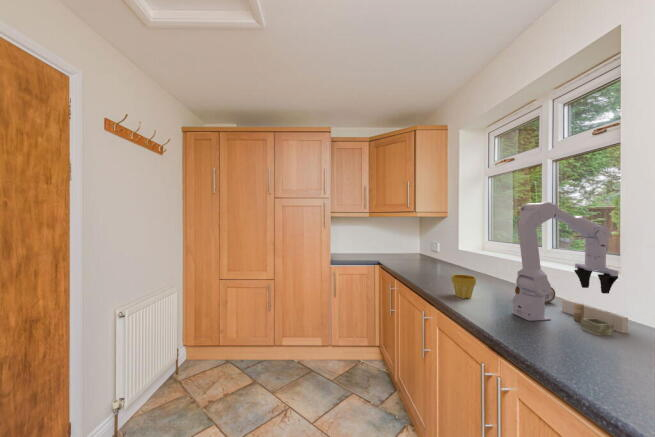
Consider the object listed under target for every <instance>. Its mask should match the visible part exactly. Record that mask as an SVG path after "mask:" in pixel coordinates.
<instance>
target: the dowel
mask: <svg viewBox="0 0 655 437" xmlns="http://www.w3.org/2000/svg"><path fill="white" fill-rule="evenodd" d="M582 304H583V303H582ZM582 304H574V315H573V321H575V322H577V323H581V319H583V318H584V305H582Z"/></svg>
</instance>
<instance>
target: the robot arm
mask: <svg viewBox="0 0 655 437" xmlns="http://www.w3.org/2000/svg"><path fill="white" fill-rule="evenodd" d="M518 212H519V219H518V221H517V230H518V240H519V249H520V256H521V265H522V268H521V269H520V270H518V271H517V277H516V280H515V284H516V286H518V287H519V288H520V291H521V293H520V294H516V293H515V294H514V296H513V301H512V302H513V309H512V311H511V314H513V315H516V316H518V317H519V318H522V319H524V320H526V321H551V320H552V318H551V317H549V316H546V313H545V312H546V308H545V307H546V306H545V304H546V303H545V296H546V295H547V294H548V293H549V292H550V289H551V287H552V286H551V283H550V281H549V280H548V275H547V274H546V273H545V271H543V270H542V268H541V267H542V266H541V261H540V260H541V259H540V258H541V257H540V253H539V252H540V251H539V250H540V249H539V241H538V234H537V233H538V232H537V228H538V227H540V225H542V224H544V223H545V222H548V221H549V220H551V219H554V220H556V221H559V222H562V223H564V224H566V226H567V227H568V228H569V229H570V230H572V231H574V232H576V233H578V234H580V236H581V237H582V238H583V239H584V244H585V245H584V263H574V268H575V269H574V273H575V274H576V276H577V277H578V279H579V282H580V286H581V288H582V289H583V288H584V289H588V288H589V287H590V279H591V275H592V273H593V272H594V273H597V277H598V279H599V283H600V291H601V292H600V293H602V294H610V291H611V289H612V287H613V285H614V284H615V282H616V281H617V280H618V279H619V270H615V269H613V268H610V267H607V246H608V244H609V240H610V238H611V236H612V232H611V230H610V228H608V227H607V226H606V225H603V224H602V225H601V224H600V225H599V224H597V222H595V221H591V220H589V219H587V217H586V216H585V215H576V216H575V215H572V214H570V213H568V212H567V211H565V210H563V209H561V208H560V207H559V206H558V205H557V204H555V203H552V202H549V201H545V202H537V203H536V202H535V203H534V202H528V203H527V202H526V203H525V204H523V205H522V206H521V207H520V208H519V210H518Z"/></svg>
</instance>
